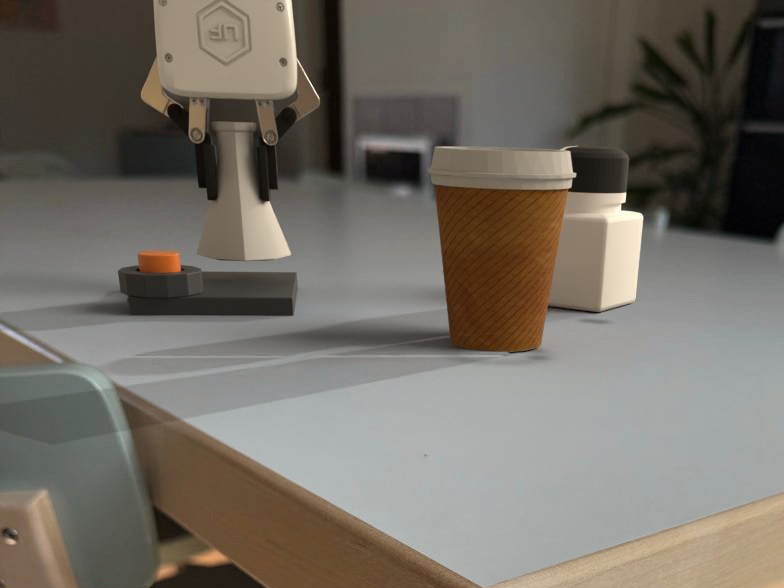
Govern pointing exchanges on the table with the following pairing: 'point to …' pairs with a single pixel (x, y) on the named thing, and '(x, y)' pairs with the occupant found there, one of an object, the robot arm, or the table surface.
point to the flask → (239, 203)
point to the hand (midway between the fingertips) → (239, 197)
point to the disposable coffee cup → (499, 240)
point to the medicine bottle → (597, 235)
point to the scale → (209, 292)
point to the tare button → (159, 261)
